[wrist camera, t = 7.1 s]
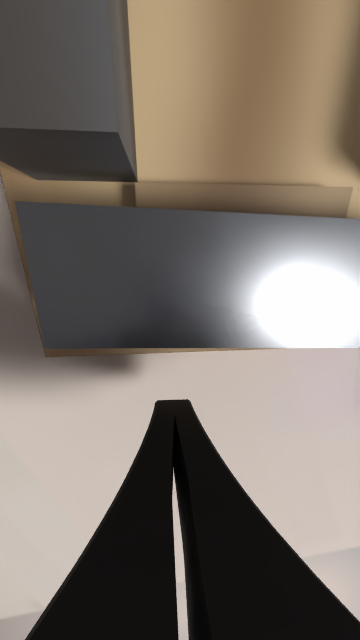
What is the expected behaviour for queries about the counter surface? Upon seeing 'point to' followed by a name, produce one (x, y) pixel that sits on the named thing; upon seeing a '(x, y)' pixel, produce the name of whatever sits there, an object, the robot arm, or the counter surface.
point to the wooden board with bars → (181, 109)
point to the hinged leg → (190, 278)
